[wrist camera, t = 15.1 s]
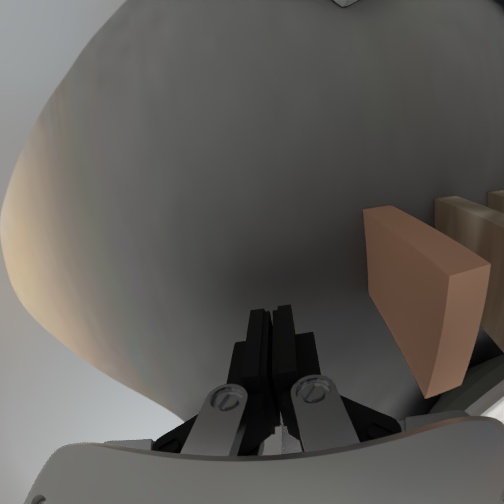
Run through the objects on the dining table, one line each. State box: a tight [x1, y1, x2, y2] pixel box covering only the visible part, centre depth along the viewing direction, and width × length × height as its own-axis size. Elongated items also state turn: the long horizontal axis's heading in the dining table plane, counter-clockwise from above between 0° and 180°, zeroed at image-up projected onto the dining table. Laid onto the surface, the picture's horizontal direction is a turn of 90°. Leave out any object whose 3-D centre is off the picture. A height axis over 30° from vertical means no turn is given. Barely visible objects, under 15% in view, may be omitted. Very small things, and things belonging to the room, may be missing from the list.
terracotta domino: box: [363, 205, 491, 399], centre depth 13 cm, size 2×6×10 cm, turn 12°
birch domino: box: [434, 196, 504, 353], centre depth 12 cm, size 2×6×10 cm, turn 12°
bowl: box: [429, 355, 504, 424], centre depth 18 cm, size 19×19×8 cm
